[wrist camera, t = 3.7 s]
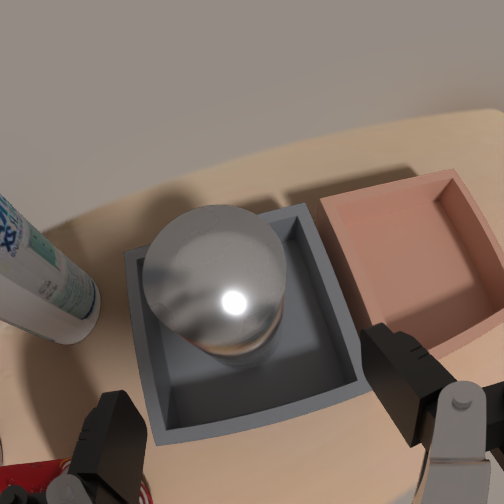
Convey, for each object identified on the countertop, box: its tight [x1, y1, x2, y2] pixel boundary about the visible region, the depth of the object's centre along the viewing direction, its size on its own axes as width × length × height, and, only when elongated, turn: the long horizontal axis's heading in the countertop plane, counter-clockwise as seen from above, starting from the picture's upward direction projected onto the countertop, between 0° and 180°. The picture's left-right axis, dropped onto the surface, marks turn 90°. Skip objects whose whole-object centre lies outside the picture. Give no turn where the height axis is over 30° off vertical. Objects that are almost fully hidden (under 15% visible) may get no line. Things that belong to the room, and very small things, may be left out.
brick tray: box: [315, 169, 504, 360], centre depth 19 cm, size 12×12×4 cm
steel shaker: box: [142, 205, 286, 369], centre depth 15 cm, size 5×5×10 cm
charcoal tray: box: [124, 202, 373, 446], centre depth 19 cm, size 12×12×4 cm
